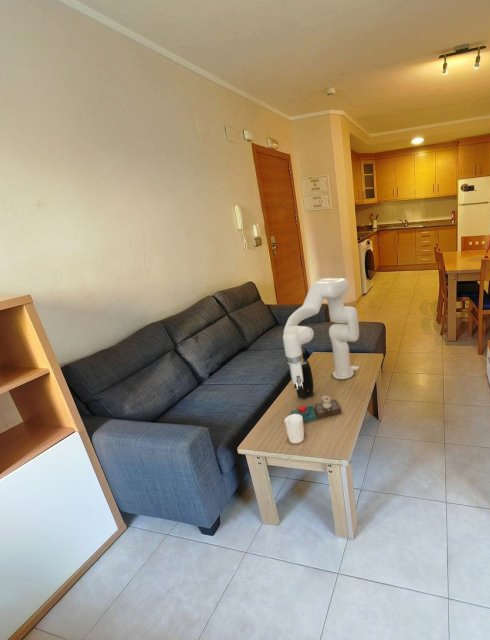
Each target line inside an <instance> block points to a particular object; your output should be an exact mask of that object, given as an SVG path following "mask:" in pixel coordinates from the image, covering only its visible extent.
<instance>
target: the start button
mask: <svg viewBox="0 0 490 640" xmlns="http://www.w3.org/2000/svg"><path fill="white" fill-rule="evenodd" d="M298 408H299V412H301V413H303V412H305V411H306V405H299V407H298Z"/></svg>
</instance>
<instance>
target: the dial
mask: <svg viewBox="0 0 490 640" xmlns="http://www.w3.org/2000/svg"><path fill="white" fill-rule="evenodd" d="M331 400H332V398H331V396H330V395H323V396H322V397H321V402H322V406H323V408H330V407H331Z"/></svg>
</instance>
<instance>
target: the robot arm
mask: <svg viewBox="0 0 490 640" xmlns="http://www.w3.org/2000/svg"><path fill="white" fill-rule="evenodd" d="M348 290H349V281H348V280H347V279H346V278H341V277H324V278H320V279H318V280H317V281H313V283H311V284H310V287H309V289H308V291H307V294H306V296H305V298H304V301H303V304H302V305H301V306H300V307H298V308H297V309H295V311H294V312H293V313H292V314H290V315H289V316H288V318H287V321H286V323H285V325H284V328H283V335H282V342H283V348H284V353H285V360H286V364H287V365H288V366H289V373H290V379H291V382H292V385H293V386H294V389H296V396H297V398H300V397H302V396H305V394H304V388H303V385H302V383H303V373H302V366H301V362H302V361H303V359H304V356H303V350H302V349H303V348H302V345H305V344H308V343H309V342H311V341H312V340H313V338H314V335H315V332H314V330H313V328H312V327H310V326H306V325H299V324H300V323H301V322H303V320H306V319H309V318H310V317H313V316H316V315H318V314H319V312H320V310H321V307H322V305H323V302H324V300H325V299H326V300H327V306H328V307H327V308H328V316H329V319H330V321H331V322H332V323H334V324H332V325H330V327H329V328H328V336H329V340H330V342H331V343H330V344H331V347H332V358H333V366H334V371H333V372H332V377H333V378H334V379H336V380H347V379H350V378H352V377H353V376H354V374H355V371H358V370H359V369H360V367H359V366H358V365H357V366H356V365H351V356H350V347H349V343H348V342H350V343H355V342H357V341H358V340H359V338H360V325H359V315H358V311H357V309H356V308H355V307H354V306H350V305H344V299H343V296H345V295H346V294H347V292H348Z"/></svg>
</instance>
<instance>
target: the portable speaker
mask: <svg viewBox="0 0 490 640" xmlns="http://www.w3.org/2000/svg"><path fill="white" fill-rule="evenodd" d="M301 366H302V373H303V383H302V385H303V388H304V394H305V396H302V397H299V398H300V399H302V400H303V399H306V398H308V397H313V395H314V379H313V372H312V367H311V365H310V362H309V360H308V359H304V358H303V361H302V362H301Z"/></svg>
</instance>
